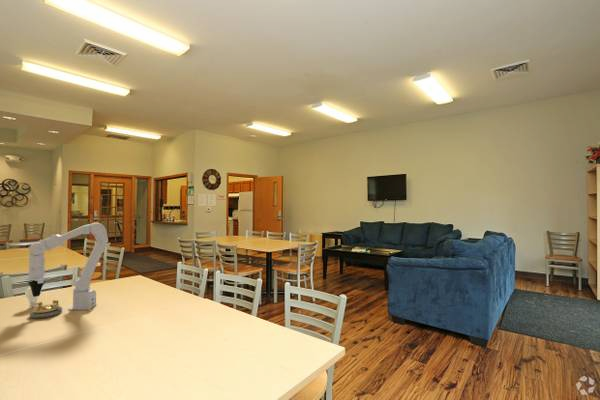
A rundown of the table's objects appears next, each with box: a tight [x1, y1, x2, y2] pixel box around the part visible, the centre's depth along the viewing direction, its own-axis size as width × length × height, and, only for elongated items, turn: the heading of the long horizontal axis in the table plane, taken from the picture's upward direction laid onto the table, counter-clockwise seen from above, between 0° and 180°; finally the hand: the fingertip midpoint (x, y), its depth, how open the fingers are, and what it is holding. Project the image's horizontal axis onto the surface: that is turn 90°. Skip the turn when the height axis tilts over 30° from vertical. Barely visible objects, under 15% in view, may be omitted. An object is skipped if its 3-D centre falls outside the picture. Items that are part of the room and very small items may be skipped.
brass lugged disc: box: [32, 299, 61, 314], centre depth 147 cm, size 10×10×3 cm
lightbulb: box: [24, 286, 42, 309], centre depth 156 cm, size 6×6×11 cm
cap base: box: [29, 306, 63, 320], centre depth 147 cm, size 12×12×2 cm
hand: (36, 296), depth 146 cm, fingers closed
